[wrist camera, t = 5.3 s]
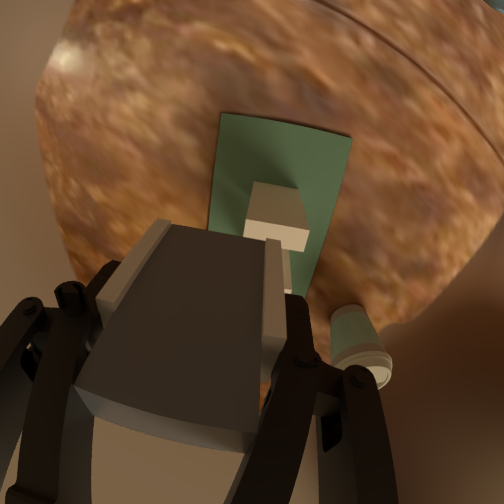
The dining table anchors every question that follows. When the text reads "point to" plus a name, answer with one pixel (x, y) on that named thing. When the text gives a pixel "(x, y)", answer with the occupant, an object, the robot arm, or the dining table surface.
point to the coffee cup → (358, 343)
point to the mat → (278, 179)
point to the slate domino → (185, 344)
